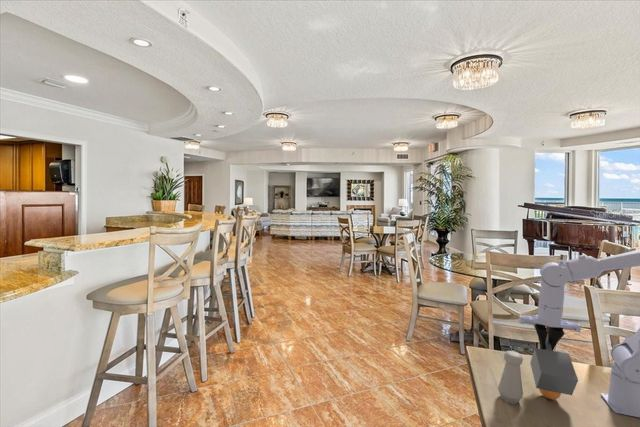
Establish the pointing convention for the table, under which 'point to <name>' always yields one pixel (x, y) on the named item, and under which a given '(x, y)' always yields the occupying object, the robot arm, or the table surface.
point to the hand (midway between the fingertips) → (546, 350)
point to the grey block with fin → (553, 370)
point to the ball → (550, 394)
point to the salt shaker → (511, 378)
